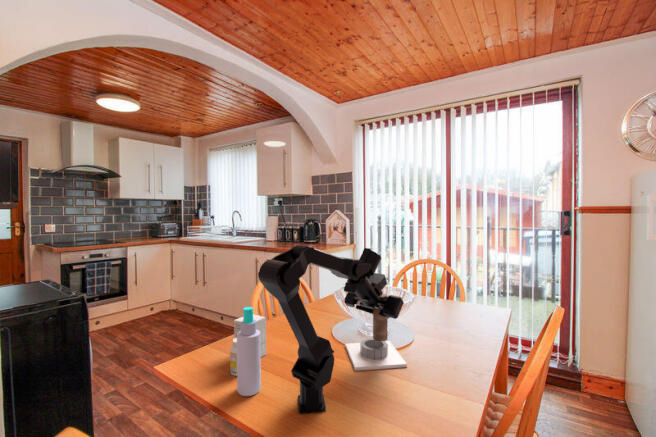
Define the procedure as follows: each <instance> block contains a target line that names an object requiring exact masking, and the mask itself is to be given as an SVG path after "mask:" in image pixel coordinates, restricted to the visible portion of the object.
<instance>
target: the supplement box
mask: <svg viewBox="0 0 656 437" xmlns="http://www.w3.org/2000/svg"><path fill="white" fill-rule="evenodd" d="M266 318H267V317H265V316H262V315H258V314H255V313H253V319H254V320H256V329H257V330H259V331H260V352H261V358H262V357H264V356H266V355H267V326H266V324H267V323H266V322H267V320H266ZM241 321H243V316H241V317H239V318H236V319H234V321H233V326H234V327H233V328H234V329H233V330H234V331H233V333H234V334H233V336H234V338H237V333H238V332H239V331H241ZM234 338H233V339H234Z"/></svg>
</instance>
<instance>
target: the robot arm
mask: <svg viewBox="0 0 656 437" xmlns="http://www.w3.org/2000/svg"><path fill="white" fill-rule="evenodd" d="M381 260H382V257H381V255H380V254H378V253H377V252H375V251H373V250H372V249H371V248H369V247H364V249H363V250H362V252H361V255H360V257H359V259H358V258H357V259H356V258H348V257H341V256H340V257H339V256H336V255H334V254H330V253H328V252H325V251H324V250H320V249H317V248H315V247H313V246H312V245H307V244H306V245H304V244H296V245H294V246H293V247H291V248H290V249H288V250H286V251H284V252H282V253H278V254H277V255H275V256H273V257H272V258H271V259H268V260H266V261H264V262H263V263H262V264H261V266H260V267H259V270H258V273H257V275H258V276H257V277H258V280H259V282H260V283H261V284H262V286H263V287H264V288H265V290H266V291H267V292H268V293H269V294H271V295H272V296H273V297H274V298H275V299H276V300H277V301H278V304H279V306H280V307H281V310H282V312H283V314H284V315H285V318H286V320H287V322H288V324H289V327H290V329H291V330H292V333H293V335H294V337H295V339H296V341H297V344H298V348H297V356H298V358H297V359H296V361H295V363H294V365H293V367H292V369H291V371H290V373H291V375H292V378H294V379H296V380H299V394H298V396H297V405H298V406H297V407H298V408H297V409H298V413H299V414H309V413H310V414H311V413H323V412H326V411H327V408H326V402H325V396H324V387H325V386H327V385H328V384H330V383H331V381H332V380H331V379H332V376H333V371H334V366H335V356H334V353H335V350H334V349H333V348H332V345H331V342H330V340H329V339H326V338H324V337H321V336H319V335H318V334H317V332H316V329H315V327H314V325H313V323H312V321H311V318H310V316H309V314H308V312H307V309H306V307H305V304H304V302H303V300H302V297H301V295H300V292H299V291H300V286H301V281H300V279H301V278H302V277H303V276H304V275H305V274H306V271H307V269H308V268H309V267H308V266H309V265H312V266H315V267H318V268H321V269H325V270H328V271H330V272H331V274H333V275H334V276H336V277H337V278H341V279H345V280H346V282H345V284H344V286H343V291H344V292H345V293H346V295H345V297H344V299H343V300H344V301H343V302H344V304H345V305H346V306H347V307H350V308H353V309H354V308H355V309H356V310H359V311H363V312H365V313H367V314H370V315H371V314H372V315H373V309H374V308H379V307H381V311H380V313H379V315H380V316H383V317H385V318H388V319H390V318H391V319H395V320H396V319H398V317H399V316H400V312H401V310H402V308H403V305H404V300H403V299H402V297H401V296H398V295H392V294H390V295H388V297H386V296H385V297H383V298H381V297H380V296H382V294H384V292H383V291H382V290H383V289H384V288H385V287H386V286H387V285H388V282H387V277H386V275H385V274H384V273H378V272H376V270H378V267H379V265H380V263H381Z"/></svg>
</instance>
